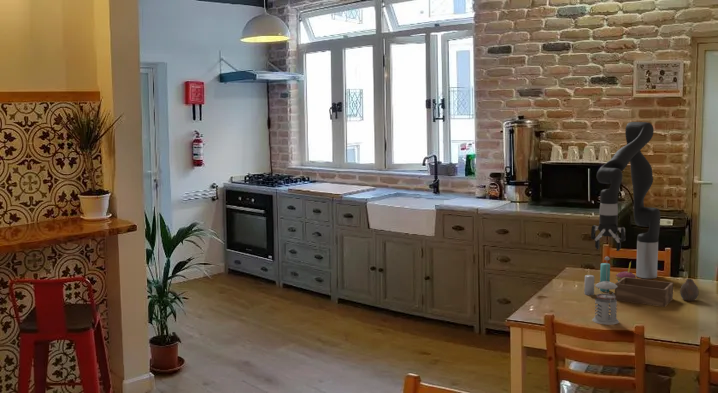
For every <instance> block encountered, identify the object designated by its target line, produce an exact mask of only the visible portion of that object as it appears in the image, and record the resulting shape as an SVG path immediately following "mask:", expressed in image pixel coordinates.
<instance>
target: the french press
mask: <svg viewBox="0 0 718 393" xmlns="http://www.w3.org/2000/svg"><path fill="white" fill-rule="evenodd" d="M609 260H610V257H609V256H605V257H604V261H609ZM594 287H595V288H598V289H599V290H600V289H606V292H605V293H598V294H596V298H595V299H594V300H595V301H594V304H595V306H594V308H595V309H594V317H593V318H592V319H591V321H592V322H594V323H596V324H599V325H600V324H601V325H609V326H610V325H616V324H619V323H620V321H619V319H618V318H617V315H618V314H617V312H618V311H617V310H618V308H617V306H618V302H617V301H618V300H616V299H615V298H616V296H615V292H612V293H611V294H610V291H609V292H607V289H610V290H615V289H616V288H617V287H618V286H617V285H616V284H615V283H614V282H611V281H610V282H608V281H607V269H606V281H603V282H600V281H599V282H598V283H596V284H594Z"/></svg>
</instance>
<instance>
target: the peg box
mask: <svg viewBox="0 0 718 393" xmlns="http://www.w3.org/2000/svg"><path fill="white" fill-rule="evenodd" d="M614 284H616V285H617V286H618V287H617V288H616V289H614V295H615V296H616V298H615V299H616V300H617V301H620V302H626V303H627V302H629V303H636V304H643V305H648V306H654V307H655V306H657V307H664V308H666V306H668V304H670V303H671V301H673V299H674V297H673V296H674V282H670V281H669V282H668V281H660V280H654V279H653V280H652V279H647V278H637V277H636V278H629V277H624V278H622V279H621V280H620V281H618V280H617V281H616V282H615V283H614Z"/></svg>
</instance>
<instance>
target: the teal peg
mask: <svg viewBox="0 0 718 393" xmlns="http://www.w3.org/2000/svg"><path fill="white" fill-rule="evenodd" d="M606 269H607V281H608V282H611V264H610V263H609V262H602V263H600V269H599V270H600V272H599V273H600V274H599V277H600V278H599V282H603V281H606ZM610 290H611V289H607V293H608V292H609V293H610ZM599 291H600V292H604V293H606V289H600V288H599Z"/></svg>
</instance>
